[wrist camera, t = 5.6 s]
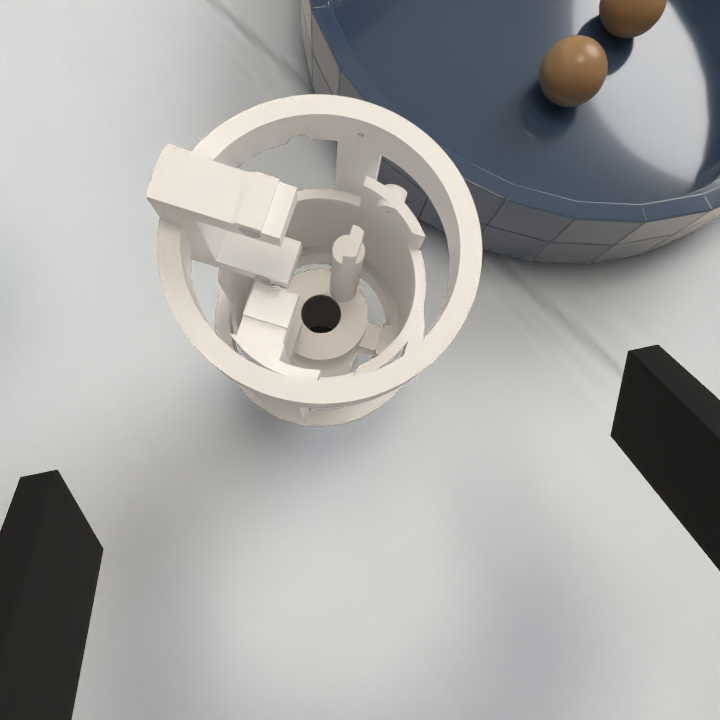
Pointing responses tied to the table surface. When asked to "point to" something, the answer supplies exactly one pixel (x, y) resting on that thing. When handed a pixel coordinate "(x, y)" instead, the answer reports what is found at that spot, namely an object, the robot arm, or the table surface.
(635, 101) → the round tray
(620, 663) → the table surface
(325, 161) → the table surface
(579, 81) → the brown egg
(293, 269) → the white cylindrical mechanical housing
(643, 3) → the brown egg
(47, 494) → the robot arm
